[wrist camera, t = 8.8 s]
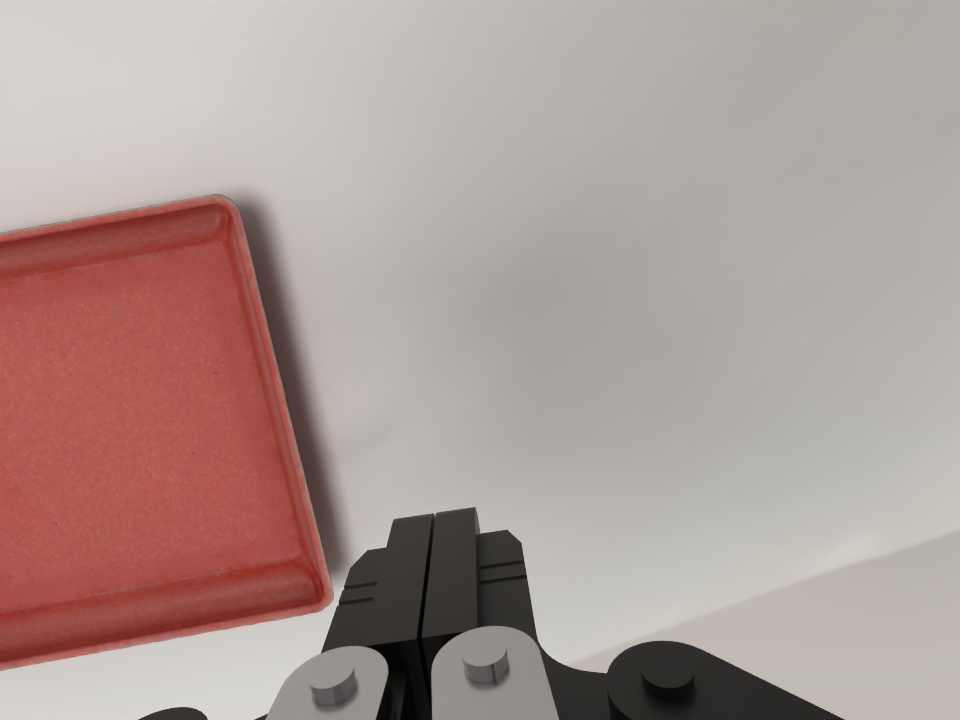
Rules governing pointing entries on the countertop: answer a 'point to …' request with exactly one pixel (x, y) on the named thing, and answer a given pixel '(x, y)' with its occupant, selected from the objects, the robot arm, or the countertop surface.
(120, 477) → the plant saucer
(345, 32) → the countertop surface
